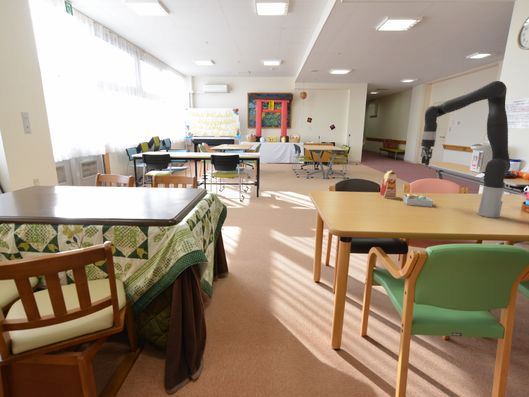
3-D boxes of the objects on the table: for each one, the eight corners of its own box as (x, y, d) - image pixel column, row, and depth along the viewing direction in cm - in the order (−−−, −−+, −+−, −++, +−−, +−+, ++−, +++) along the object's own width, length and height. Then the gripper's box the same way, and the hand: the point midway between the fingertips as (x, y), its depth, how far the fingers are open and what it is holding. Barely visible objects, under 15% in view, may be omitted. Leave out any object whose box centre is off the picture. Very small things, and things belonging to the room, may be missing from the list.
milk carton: (396, 198, 208) (400, 170, 203) (383, 198, 208) (387, 170, 204) (391, 195, 217) (394, 168, 212) (378, 195, 217) (382, 168, 212)
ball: (424, 202, 197) (425, 195, 196) (426, 204, 192) (427, 196, 191) (416, 201, 198) (417, 194, 197) (418, 203, 193) (419, 196, 192)
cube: (414, 201, 198) (415, 194, 197) (415, 203, 193) (417, 196, 192) (406, 200, 199) (407, 193, 198) (407, 202, 194) (408, 195, 193)
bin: (426, 201, 200) (426, 196, 199) (431, 206, 188) (432, 200, 187) (402, 200, 204) (402, 194, 203) (406, 204, 191) (407, 198, 190)
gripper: (438, 139, 180) (434, 165, 183) (431, 138, 193) (427, 163, 197) (425, 139, 181) (421, 165, 185) (419, 138, 195) (415, 162, 199)
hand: (424, 164), depth 191 cm, fingers open, 8 cm apart
